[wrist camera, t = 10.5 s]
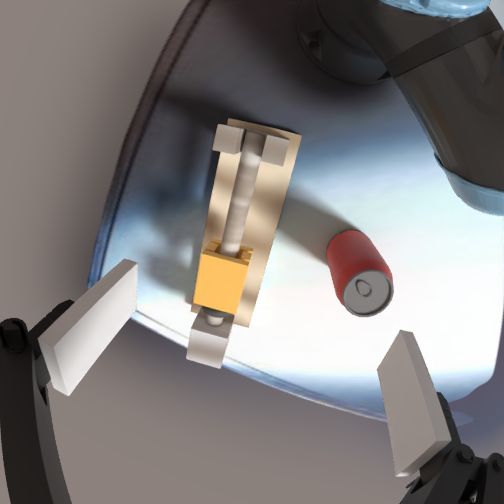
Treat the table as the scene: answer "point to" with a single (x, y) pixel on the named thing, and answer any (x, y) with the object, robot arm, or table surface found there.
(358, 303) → the beer can
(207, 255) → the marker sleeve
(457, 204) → the table surface
